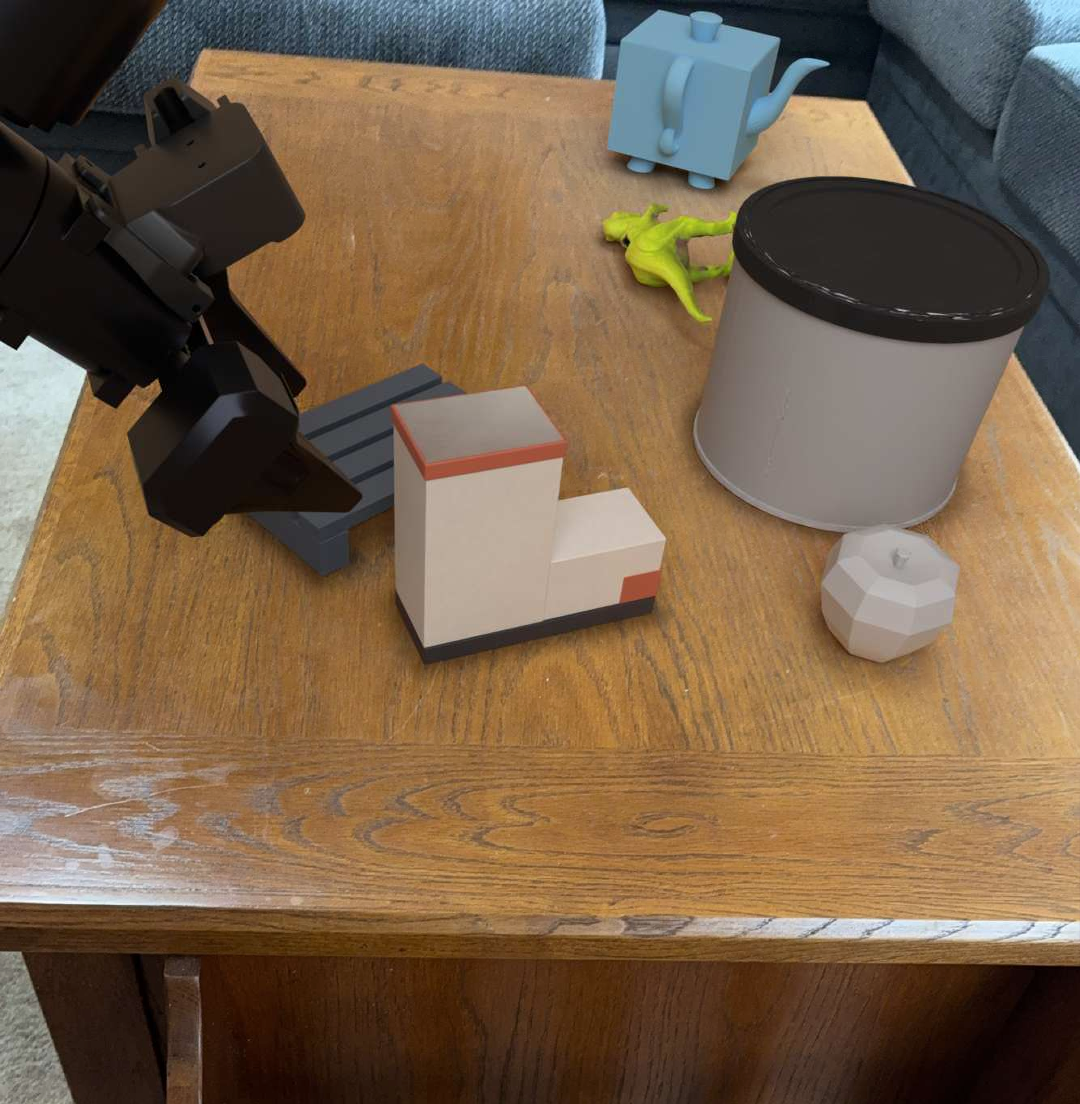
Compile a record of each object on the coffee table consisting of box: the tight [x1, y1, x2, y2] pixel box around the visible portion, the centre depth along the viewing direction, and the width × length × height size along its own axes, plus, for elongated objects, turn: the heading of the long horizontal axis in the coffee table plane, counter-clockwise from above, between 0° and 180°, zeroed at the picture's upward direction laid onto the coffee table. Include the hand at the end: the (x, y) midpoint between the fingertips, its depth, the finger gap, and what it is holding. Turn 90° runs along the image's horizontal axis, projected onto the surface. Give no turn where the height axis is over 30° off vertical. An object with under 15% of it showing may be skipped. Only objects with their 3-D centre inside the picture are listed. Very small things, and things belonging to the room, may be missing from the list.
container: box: [692, 175, 1051, 534], centre depth 72 cm, size 19×19×15 cm
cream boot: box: [391, 384, 667, 666], centre depth 59 cm, size 14×5×13 cm, turn 113°
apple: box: [820, 524, 961, 664], centre depth 62 cm, size 8×8×7 cm
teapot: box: [606, 9, 831, 190], centre depth 104 cm, size 18×16×13 cm
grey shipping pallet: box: [246, 363, 469, 577], centre depth 69 cm, size 16×10×4 cm, turn 135°
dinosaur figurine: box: [601, 202, 738, 324], centre depth 91 cm, size 20×10×6 cm, turn 29°
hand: (326, 443), depth 51 cm, fingers open, 9 cm apart
